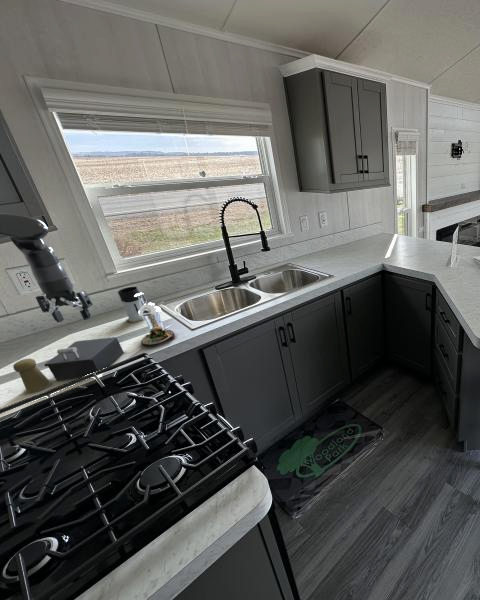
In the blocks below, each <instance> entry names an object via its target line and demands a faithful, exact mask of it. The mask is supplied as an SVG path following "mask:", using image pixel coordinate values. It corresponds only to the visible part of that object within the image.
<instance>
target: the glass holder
mask: <svg viewBox="0 0 480 600" xmlns="http://www.w3.org/2000/svg"><path fill="white" fill-rule="evenodd" d="M139 293H140V291H139V288H138V287H137V286H128V287H123V288H121V289H119V290H118V291H117V294H118V295H119V298H120V302H121V304H122V306H123V308H124V311H125V312H126V315H127V316H128V322H131V323H132V322H133V323H134V322H140V321H143V320H144V319H143V318H142V316H139V315H138V312H139V311H140V307H141V306H142V305H143V304H145V301H144V299H143V296H142V295H139V296H136V297H133V296H134V295H137V294H139ZM145 299H146V301H147V298H146V297H145ZM147 302H148V301H147Z"/></svg>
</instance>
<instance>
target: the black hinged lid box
mask: <svg viewBox="0 0 480 600" xmlns="http://www.w3.org/2000/svg"><path fill="white" fill-rule="evenodd" d="M124 354H125V351H124V350H123V347H122V346H121V343H120V341H119V339H118V338H117V339H116V340H115V341H114V342H113V343H111V344H110V345H109V346H108V347H107V348H105V349H104V350H103V351H102V352H101V353H100V354H98V355H97V356H96V357H95V358H94V359H92V360H91V361H87V362H78V363H69V364H61V365H52V366H47V367H48V369H49V370H50V372H51V374H52V375H53V377H54V379H55V381H62V380H70V379H78V378H83V377H82V376H85V375H87V374H90V373H93V372H96V371H99V370H102V369H103V368H106V367H108V368H110V367H111V366H112V365H113V364H114V363H115V362H116V361H117V360H118V359H120V358H121V356H123V355H124ZM109 366H110V367H109Z"/></svg>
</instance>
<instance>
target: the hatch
mask: <svg viewBox="0 0 480 600" xmlns="http://www.w3.org/2000/svg"><path fill="white" fill-rule="evenodd" d="M116 339H118V337H117V336H114V337H113V336H112V337H104V338H95V339H86V340H84V339H83V340H77V341H74V342H73V343H71V345H69V346H68V347H65V348H58V349H57V350H56V353H57V355H55V356H54V357H52V358H51V359H50V360H48V361H46V362H45V363H44V365H43V366H44V367H48V366H52V365H61V364H69V363H78V362H87V361H91V360H92V359H94V358H95V357H96V356H97V355H98V354H100V353H101V352H102V351H103V350H104V349H105V348H107V347H108V346H109V345H110V344H111V343H113V342H114V341H115V340H116Z"/></svg>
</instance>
